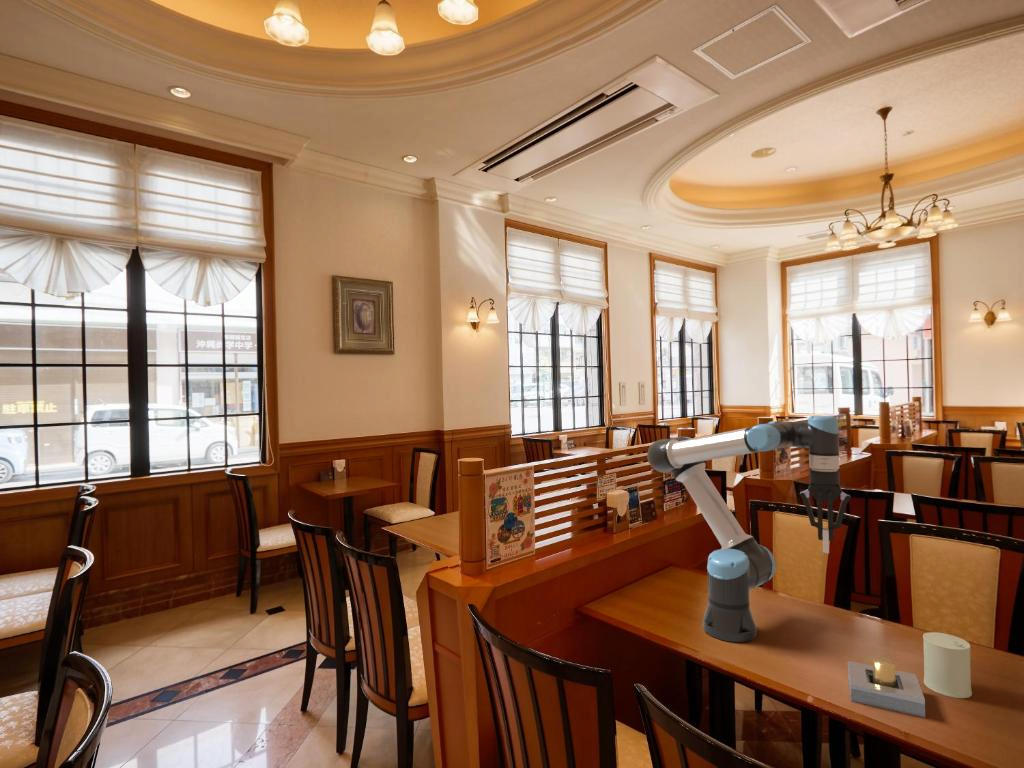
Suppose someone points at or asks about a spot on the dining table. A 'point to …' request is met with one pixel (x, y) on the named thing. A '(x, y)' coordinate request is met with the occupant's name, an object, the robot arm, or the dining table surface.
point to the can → (947, 665)
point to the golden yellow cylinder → (884, 672)
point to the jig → (886, 690)
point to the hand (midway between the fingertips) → (825, 551)
